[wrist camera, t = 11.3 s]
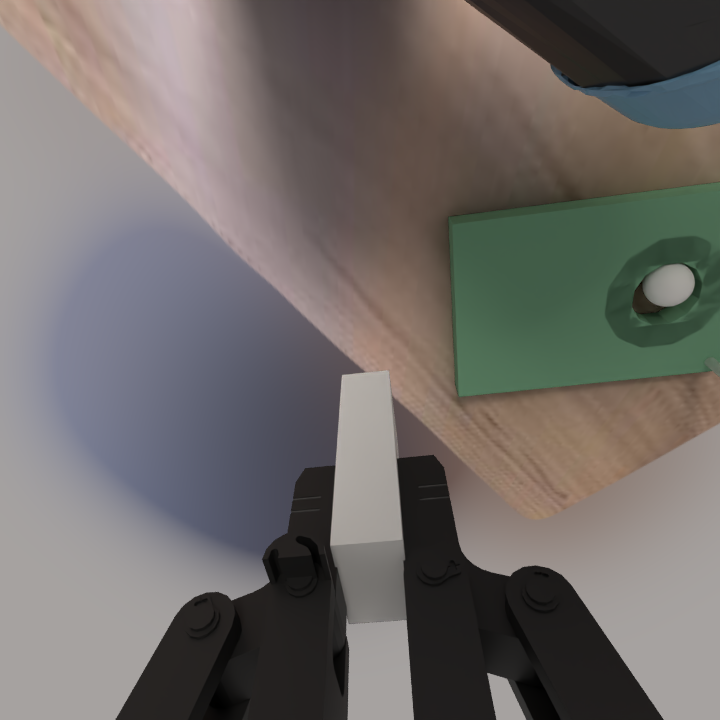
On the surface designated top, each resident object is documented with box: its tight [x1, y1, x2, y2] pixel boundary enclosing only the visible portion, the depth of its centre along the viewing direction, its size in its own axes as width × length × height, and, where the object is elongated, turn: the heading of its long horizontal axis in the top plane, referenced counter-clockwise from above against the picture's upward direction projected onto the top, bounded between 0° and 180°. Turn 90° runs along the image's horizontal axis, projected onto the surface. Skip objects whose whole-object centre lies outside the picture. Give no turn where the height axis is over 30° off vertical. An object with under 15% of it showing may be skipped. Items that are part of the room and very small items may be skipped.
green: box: [448, 182, 720, 397], centre depth 35 cm, size 15×22×14 cm
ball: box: [642, 263, 695, 307], centre depth 38 cm, size 3×3×3 cm
